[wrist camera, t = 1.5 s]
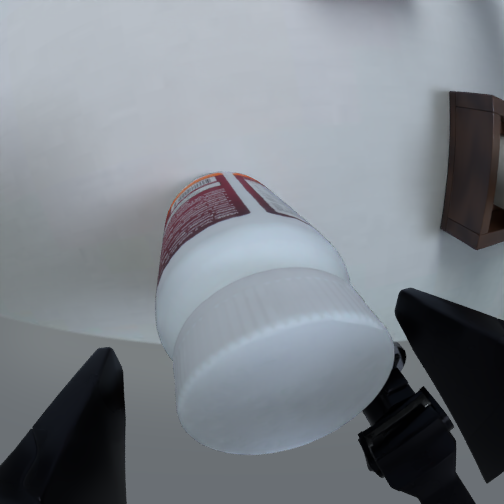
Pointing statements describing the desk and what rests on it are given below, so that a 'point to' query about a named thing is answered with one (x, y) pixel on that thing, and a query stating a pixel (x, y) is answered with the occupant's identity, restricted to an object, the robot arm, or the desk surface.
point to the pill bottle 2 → (500, 177)
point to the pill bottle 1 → (261, 321)
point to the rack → (474, 170)
